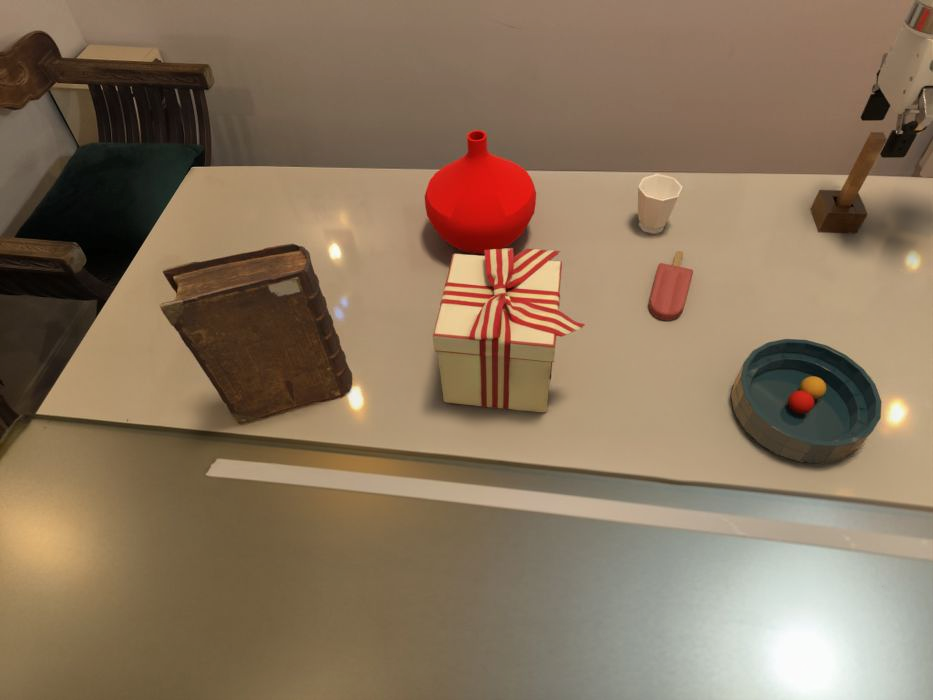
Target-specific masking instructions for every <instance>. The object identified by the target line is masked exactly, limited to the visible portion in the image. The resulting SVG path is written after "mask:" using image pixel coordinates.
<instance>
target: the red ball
mask: <svg viewBox="0 0 933 700" xmlns="http://www.w3.org/2000/svg"><path fill="white" fill-rule="evenodd" d="M788 405H789V407H790V409H791V410H792V411H794V412H796V413H799V414H804V413H808V412H809V411H811V410H812V409H813V407H814V398H813V397H812V395H811V394H810V393H808V392H806V391H795V392H793V393H792V394H791V395H790V396H789V398H788Z"/></svg>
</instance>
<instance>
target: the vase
mask: <svg viewBox="0 0 933 700" xmlns="http://www.w3.org/2000/svg"><path fill="white" fill-rule="evenodd" d="M487 137H488V136H487V133H486V132H485V131H484V130H481V129H476V130H471V131H469V132H468V133H467V135H466V141H467V153H466V154H465V155H463V156H462V157H460V158H458V159H456V160H454V161H451V162H450V163H448V164H446V165H444V166H443V167H441V168H440V169H439V170H437V171H436V172H435V173H434V174H433V175H432V177H430V179H429V181H428V184H427V187H426V189H425V193H424V206H425V212H426V217H427V218H428V221H429V223H430V224H431V226H432V227H433V228H434V230H435V231H436V233H437V234H438V236H439V237H440V238H442V239H443V240H444V241H445V242H446V243H447V244H449V245H451V246H452V247H454V248H456V249H458V250H460V251H462V252H466V253H469V254H478V255H480V254H485V253H484V250H492V249H506V248H508V246H510V245H511V244H513V243H514V242H515V241H516V240H517V239H519V238H520V237H521V236H522V235H523V233H524V232H525V231H526V229H527V227H528V225H529V224H530V221H531V220H532V218H533V216H534V214H535V211H536V210H535V209H536V203H537V190H536V187H535V184H534V181H533V179H532V177H531V175H530V174H529V173H528V171H527V170H526V169H525V168H523V167H522V166H520V165H519V164H518V163H516V162H513V161H511V160H508V159H506V158H502V157H499V156H497V155H494V154H492V153H490V152H489V150H488V139H487Z"/></svg>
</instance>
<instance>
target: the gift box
mask: <svg viewBox="0 0 933 700" xmlns="http://www.w3.org/2000/svg"><path fill="white" fill-rule="evenodd" d="M559 253H561V250H547V249H537V248H525V249H523V250H522V251H521V252H519V253H518V254H516V255H515V256H514V248H513V247H505V248H503V249H492V250H484V253H483V254H484V255H480V254H478V255H477V254H464V253H463V254H462V253H452V255H451V260H450V264H449V268H448V273H447V277H446V279H445V280H446V281H445V283H444V289H443V293H442V297H441V300H440V304H439V306H440V307H439V309H438V314H437V318H436V321H435V326H434V329H433V333H432V343H433V345H432V346H433V351H434V352H437V356H438V365H439V373H440V381H441V389H442V396H443V401H444V402H445V403H448V404H457V405H467V406H476V407H477V406H478V407H483V408H493V409H503V410H516V411H524V412H525V411H526V412H537V413H547V410H548V401H549V390H550V389H549V388H550V381H551V380H552V372H553V371H552V369H553V363H554V362H555V356H556V355H555V354H556V347H557V345H556V344H557V336H558V337H560V338H561V337H564V336H568V335H570V334H572V333H574V332H576V331H579V330H581V329H582V328H583V327H584V326H586V324H585V323H582V322H578V321H576V320H574V319H573V318H571V317H569V315H566V314H565V313H564V312H562V311H560V305H561V293H560V292H561V280H562V268H563V261H558V260H557V261H556V260H552V259H553V258H555V257H556V256H557V255H558V254H559Z"/></svg>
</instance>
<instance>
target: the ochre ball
mask: <svg viewBox="0 0 933 700" xmlns="http://www.w3.org/2000/svg"><path fill="white" fill-rule="evenodd" d="M800 390H801V391H806V392H808V393H810V394H811V395H812V397H813V398H814V399H818V398H820V397H822V396H823V395H824V394H825V392H826V384H825V382H824V381H823V380H822V379H821V378H819V377H815V376H811V377H807V378H805V379H804V380H803V381H802V382H801V385H800Z"/></svg>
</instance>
